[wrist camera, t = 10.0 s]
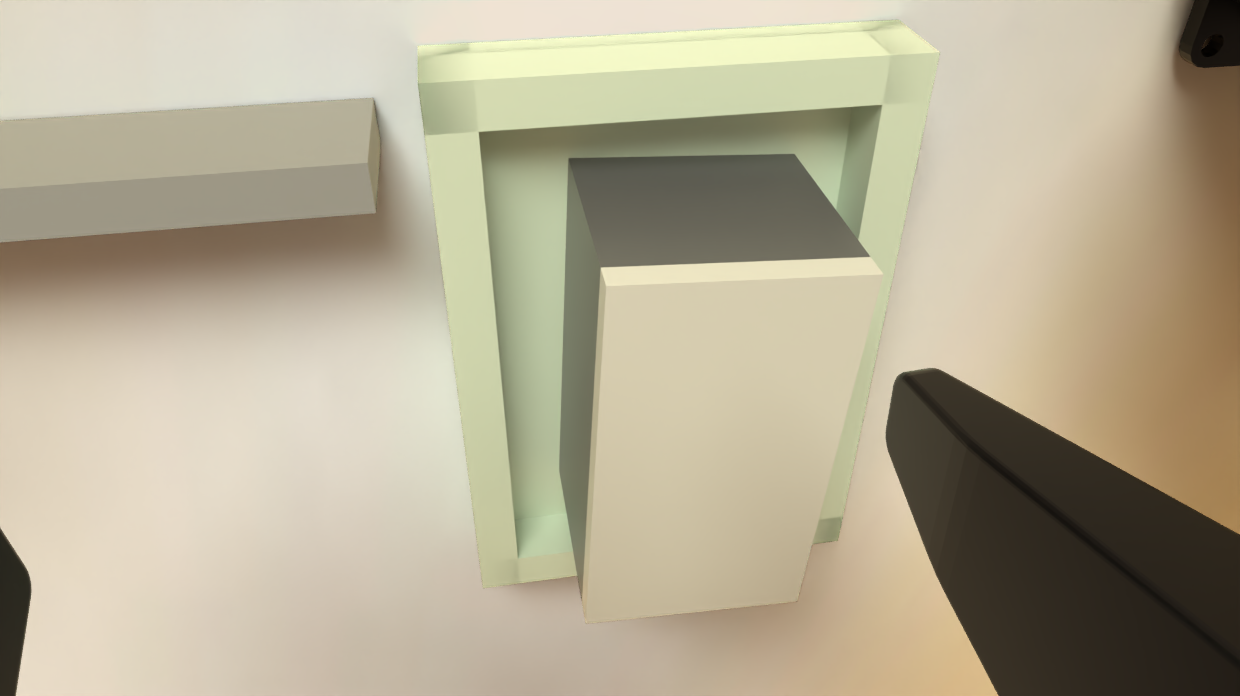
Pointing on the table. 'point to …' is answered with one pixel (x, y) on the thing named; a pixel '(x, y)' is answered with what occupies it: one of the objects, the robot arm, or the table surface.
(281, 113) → the bay
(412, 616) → the table surface
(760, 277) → the beige gray rectangular block
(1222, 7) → the robot arm
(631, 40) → the tray
